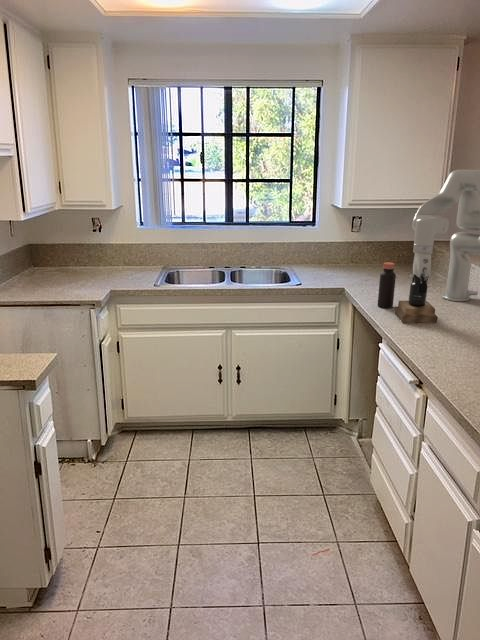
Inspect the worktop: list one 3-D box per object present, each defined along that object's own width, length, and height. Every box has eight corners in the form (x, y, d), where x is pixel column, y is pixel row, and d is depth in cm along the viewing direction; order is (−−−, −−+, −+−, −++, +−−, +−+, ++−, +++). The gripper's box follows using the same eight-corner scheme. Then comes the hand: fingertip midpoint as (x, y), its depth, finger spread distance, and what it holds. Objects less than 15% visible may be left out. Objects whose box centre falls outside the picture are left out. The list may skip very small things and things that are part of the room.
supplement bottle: (414, 307, 215) (417, 279, 211) (405, 303, 221) (407, 275, 217) (428, 306, 216) (432, 278, 213) (419, 301, 223) (422, 274, 219)
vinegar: (382, 309, 233) (386, 265, 227) (374, 304, 239) (378, 262, 233) (395, 307, 235) (400, 264, 228) (387, 303, 241) (391, 261, 235)
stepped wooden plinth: (427, 313, 227) (428, 300, 225) (436, 323, 213) (438, 309, 211) (394, 313, 227) (395, 299, 225) (402, 323, 214) (403, 309, 212)
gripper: (439, 253, 203) (434, 295, 208) (426, 244, 219) (422, 284, 225) (419, 253, 203) (415, 295, 209) (408, 244, 219) (404, 283, 225)
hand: (418, 289), depth 217 cm, fingers open, 9 cm apart
